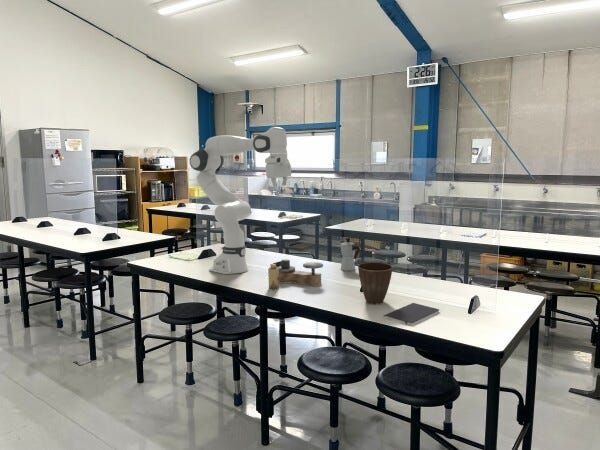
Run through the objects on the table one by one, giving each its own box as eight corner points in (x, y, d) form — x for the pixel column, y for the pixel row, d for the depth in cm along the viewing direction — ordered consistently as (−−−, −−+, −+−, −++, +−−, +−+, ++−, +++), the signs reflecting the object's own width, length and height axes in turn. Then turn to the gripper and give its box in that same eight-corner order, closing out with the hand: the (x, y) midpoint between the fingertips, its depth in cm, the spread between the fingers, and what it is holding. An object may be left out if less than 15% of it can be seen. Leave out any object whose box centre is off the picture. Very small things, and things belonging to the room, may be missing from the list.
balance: (272, 281, 236) (272, 261, 234) (282, 276, 244) (282, 257, 243) (317, 287, 223) (317, 266, 222) (326, 282, 232) (326, 262, 230)
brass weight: (266, 288, 223) (266, 264, 221) (272, 286, 227) (271, 262, 225) (275, 290, 220) (274, 266, 218) (280, 287, 225) (280, 263, 223)
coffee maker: (334, 268, 260) (334, 237, 257) (345, 265, 266) (345, 235, 263) (354, 273, 249) (354, 240, 246) (364, 270, 255) (364, 238, 252)
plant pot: (398, 301, 201) (399, 265, 198) (378, 309, 191) (379, 272, 188) (371, 294, 212) (371, 260, 209) (350, 301, 201) (350, 266, 199)
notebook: (413, 306, 196) (383, 318, 182) (413, 302, 196) (383, 315, 181) (440, 313, 187) (411, 327, 173) (440, 309, 187) (411, 323, 172)
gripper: (283, 158, 245) (284, 184, 247) (263, 159, 227) (264, 187, 230) (293, 158, 242) (294, 184, 244) (273, 159, 224) (274, 187, 227)
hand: (279, 186), depth 237 cm, fingers open, 8 cm apart
